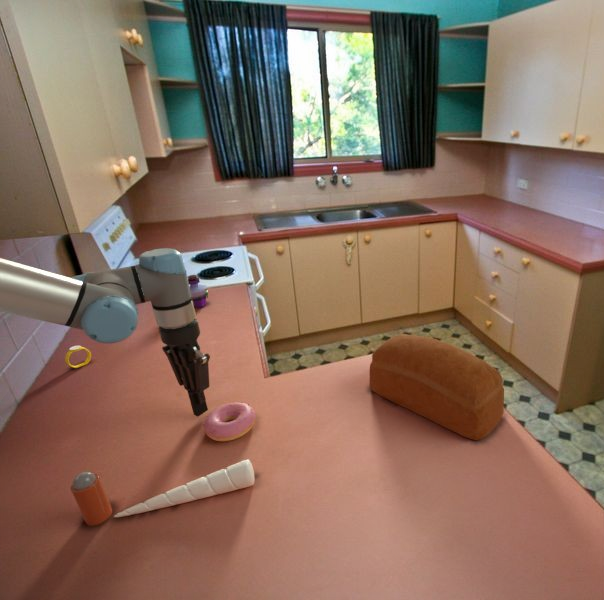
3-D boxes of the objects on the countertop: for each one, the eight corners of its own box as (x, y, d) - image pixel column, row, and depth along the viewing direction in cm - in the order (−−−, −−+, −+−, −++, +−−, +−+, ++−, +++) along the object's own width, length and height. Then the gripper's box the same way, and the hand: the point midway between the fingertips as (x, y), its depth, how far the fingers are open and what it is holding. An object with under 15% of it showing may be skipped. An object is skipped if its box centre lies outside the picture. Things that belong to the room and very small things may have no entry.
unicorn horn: (120, 502, 78) (112, 482, 76) (255, 472, 84) (251, 453, 82) (112, 523, 74) (103, 503, 72) (255, 490, 80) (250, 471, 78)
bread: (478, 447, 88) (481, 384, 82) (364, 390, 108) (360, 336, 102) (508, 413, 98) (514, 355, 92) (399, 366, 117) (397, 316, 111)
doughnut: (259, 436, 93) (256, 421, 91) (204, 451, 89) (200, 435, 88) (255, 407, 102) (252, 393, 101) (206, 419, 99) (202, 405, 97)
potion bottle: (215, 304, 160) (209, 275, 156) (192, 312, 155) (185, 281, 150) (204, 299, 166) (198, 270, 161) (182, 306, 160) (175, 276, 155)
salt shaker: (81, 520, 75) (61, 478, 71) (104, 503, 78) (87, 462, 74) (93, 529, 73) (74, 487, 69) (117, 511, 76) (100, 470, 72)
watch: (72, 372, 120) (65, 353, 117) (67, 369, 121) (60, 351, 118) (95, 362, 124) (88, 344, 122) (89, 359, 126) (83, 342, 123)
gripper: (213, 320, 90) (233, 411, 99) (173, 309, 96) (196, 396, 105) (181, 335, 84) (206, 430, 93) (141, 322, 90) (168, 413, 99)
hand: (200, 412), depth 99 cm, fingers closed
